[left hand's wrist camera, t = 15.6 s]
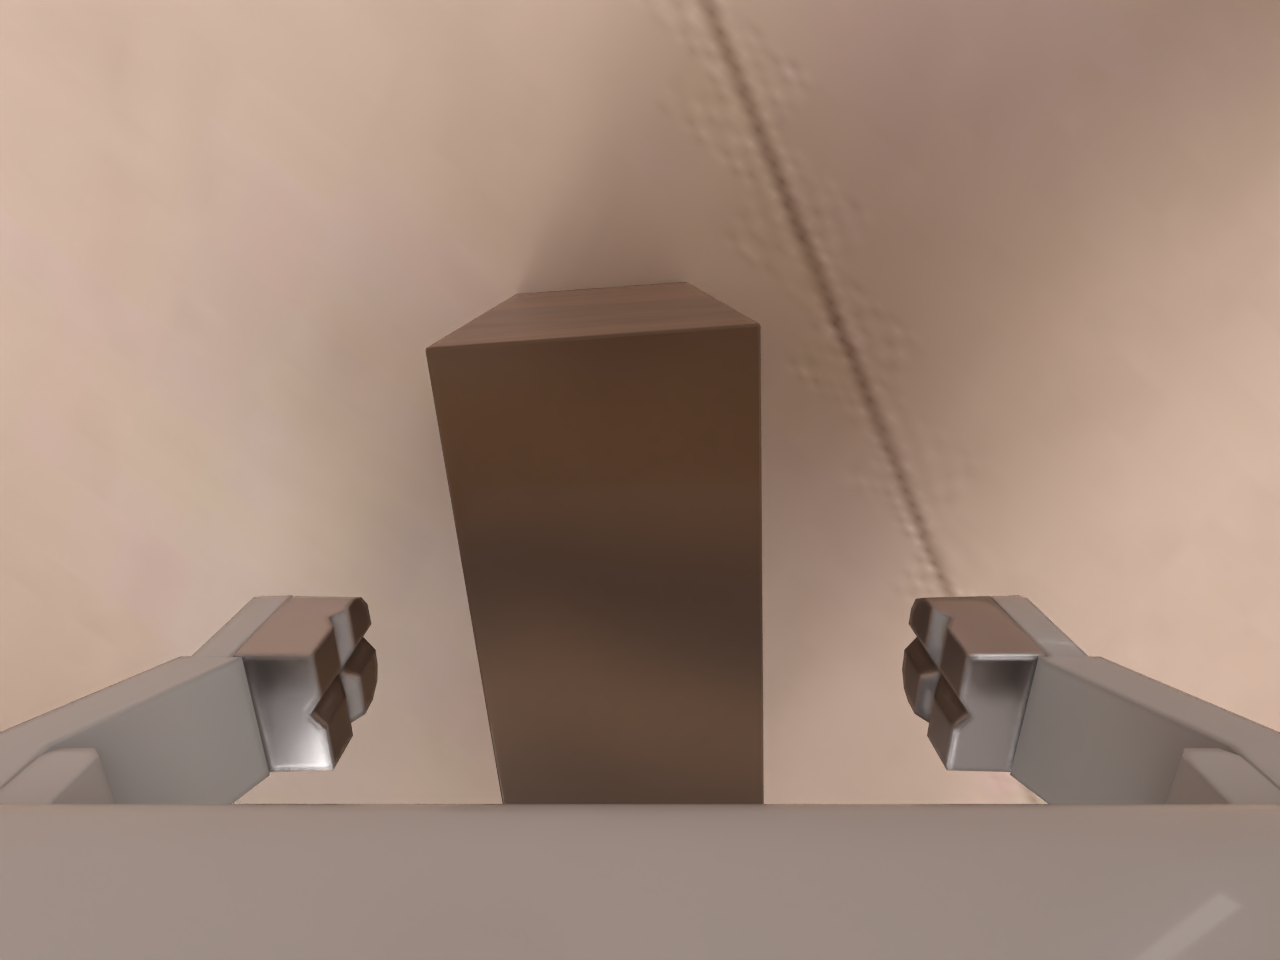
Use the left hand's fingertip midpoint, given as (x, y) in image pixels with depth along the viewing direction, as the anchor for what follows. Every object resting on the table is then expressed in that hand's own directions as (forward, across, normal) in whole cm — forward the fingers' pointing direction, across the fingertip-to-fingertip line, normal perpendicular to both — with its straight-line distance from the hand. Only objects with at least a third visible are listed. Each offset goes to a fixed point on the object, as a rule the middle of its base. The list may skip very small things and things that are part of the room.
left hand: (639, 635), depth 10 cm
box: (+15, -1, -7) cm, 17 cm away
